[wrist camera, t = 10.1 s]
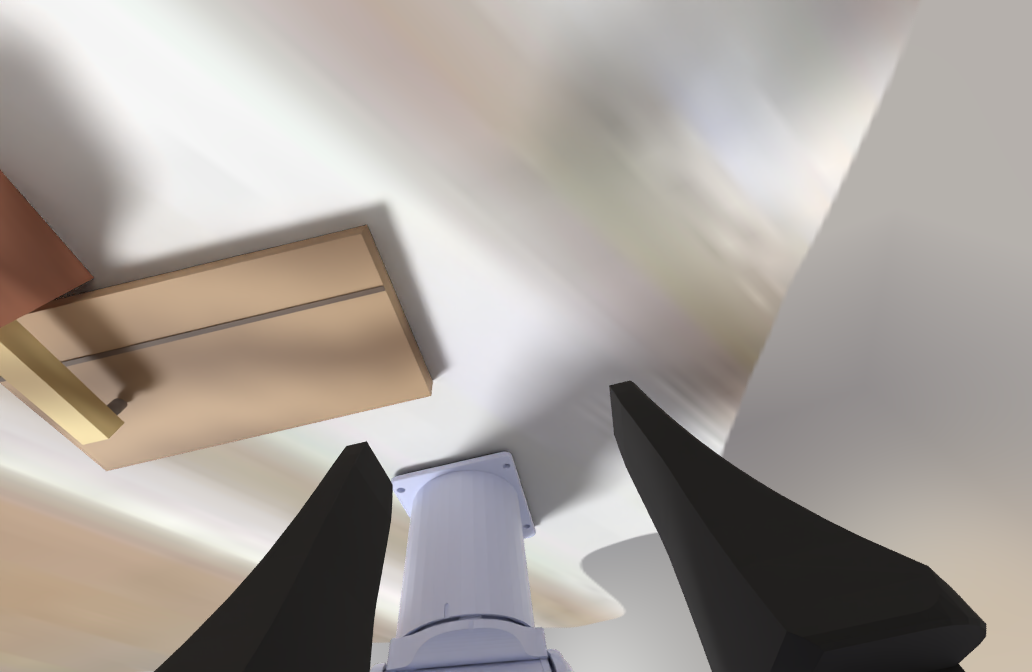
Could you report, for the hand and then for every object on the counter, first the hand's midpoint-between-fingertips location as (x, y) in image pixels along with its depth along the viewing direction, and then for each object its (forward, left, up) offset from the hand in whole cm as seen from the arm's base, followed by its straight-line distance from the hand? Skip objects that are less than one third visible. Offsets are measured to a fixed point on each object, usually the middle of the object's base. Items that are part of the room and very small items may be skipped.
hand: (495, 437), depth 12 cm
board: (0, +13, -9) cm, 16 cm away
